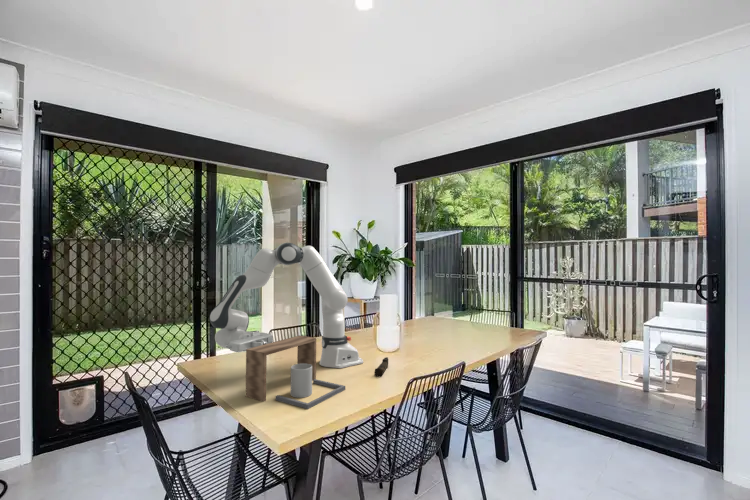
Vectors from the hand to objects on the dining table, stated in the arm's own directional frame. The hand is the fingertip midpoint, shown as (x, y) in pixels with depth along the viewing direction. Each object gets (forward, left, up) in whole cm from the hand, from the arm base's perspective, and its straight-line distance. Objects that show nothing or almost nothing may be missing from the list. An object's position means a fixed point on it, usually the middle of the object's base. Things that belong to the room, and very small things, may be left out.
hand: (264, 344), depth 164 cm
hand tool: (-54, +10, -17) cm, 57 cm away
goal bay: (-13, +23, -16) cm, 31 cm away
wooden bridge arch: (-6, +10, -16) cm, 20 cm away
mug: (-11, +20, -17) cm, 28 cm away
